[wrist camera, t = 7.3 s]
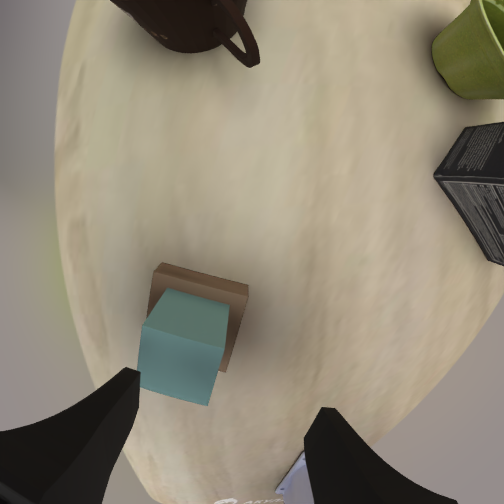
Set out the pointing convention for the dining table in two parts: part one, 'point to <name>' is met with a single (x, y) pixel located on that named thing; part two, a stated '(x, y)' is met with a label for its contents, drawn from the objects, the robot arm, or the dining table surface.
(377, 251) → the dining table surface
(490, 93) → the plant pot
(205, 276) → the base brick
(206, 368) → the teal brick
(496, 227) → the small box
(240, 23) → the coffee mug
